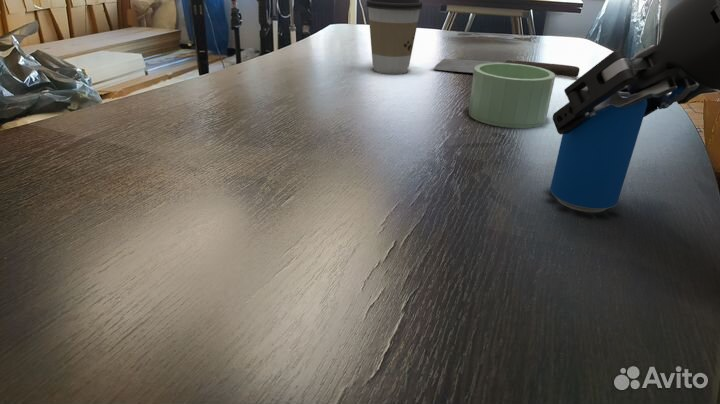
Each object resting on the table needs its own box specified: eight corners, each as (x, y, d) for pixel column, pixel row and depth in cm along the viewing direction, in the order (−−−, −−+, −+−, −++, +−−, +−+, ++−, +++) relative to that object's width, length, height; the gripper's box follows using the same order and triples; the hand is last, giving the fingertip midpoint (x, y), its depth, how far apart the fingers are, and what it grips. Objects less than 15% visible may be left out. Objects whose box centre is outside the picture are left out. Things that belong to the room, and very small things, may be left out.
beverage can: (618, 221, 48) (656, 97, 42) (547, 208, 49) (575, 88, 44) (613, 194, 53) (646, 81, 48) (549, 183, 55) (574, 74, 49)
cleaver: (576, 73, 106) (578, 63, 105) (581, 84, 98) (584, 73, 97) (438, 63, 113) (439, 54, 112) (432, 72, 105) (433, 62, 104)
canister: (499, 102, 85) (506, 60, 81) (560, 119, 77) (570, 74, 73) (452, 112, 78) (458, 67, 75) (514, 133, 70) (523, 83, 67)
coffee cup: (410, 78, 98) (417, -4, 91) (356, 72, 101) (358, -7, 94) (423, 67, 107) (429, -8, 101) (372, 62, 111) (375, -11, 104)
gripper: (796, -34, 38) (627, 83, 52) (665, -39, 32) (518, 93, 47) (846, 51, 36) (656, 148, 50) (716, 60, 31) (546, 165, 45)
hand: (590, 121), depth 49 cm, fingers open, 7 cm apart
